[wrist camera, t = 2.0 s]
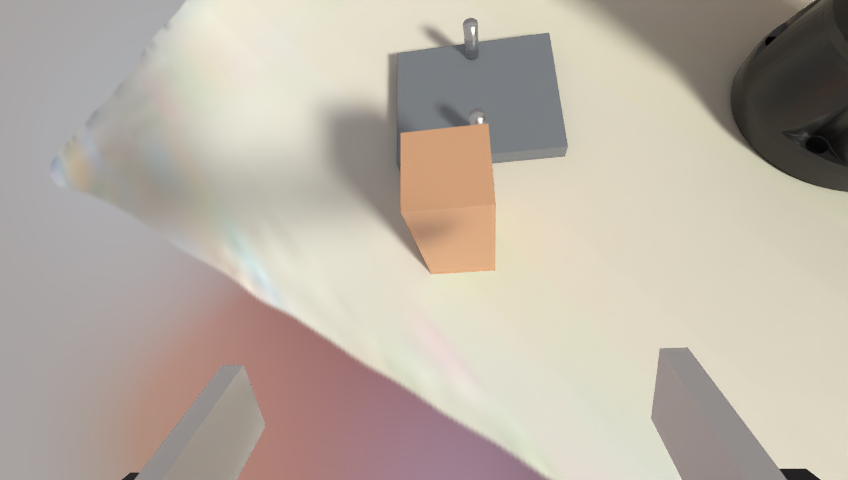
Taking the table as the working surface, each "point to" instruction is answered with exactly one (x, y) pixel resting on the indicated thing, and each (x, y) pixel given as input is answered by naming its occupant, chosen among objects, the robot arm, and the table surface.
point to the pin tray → (485, 93)
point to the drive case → (450, 197)
